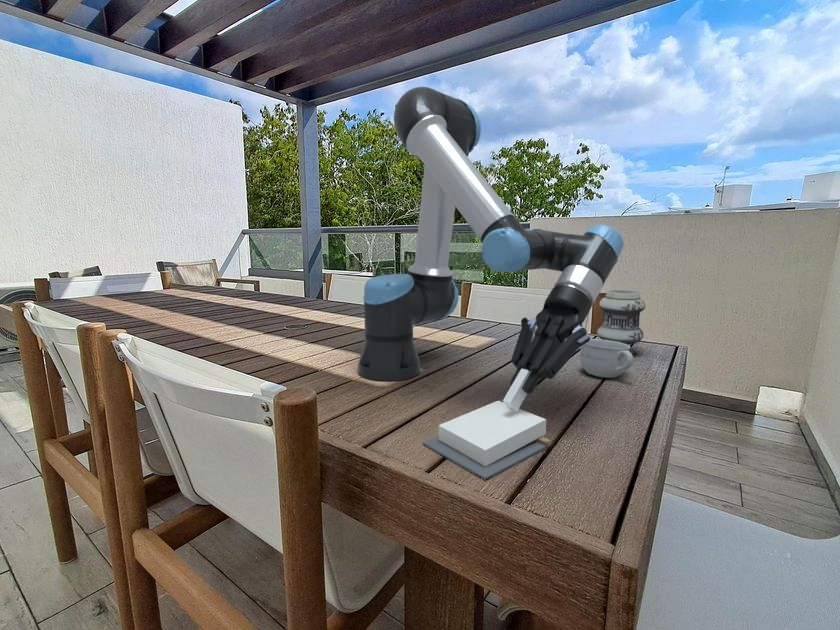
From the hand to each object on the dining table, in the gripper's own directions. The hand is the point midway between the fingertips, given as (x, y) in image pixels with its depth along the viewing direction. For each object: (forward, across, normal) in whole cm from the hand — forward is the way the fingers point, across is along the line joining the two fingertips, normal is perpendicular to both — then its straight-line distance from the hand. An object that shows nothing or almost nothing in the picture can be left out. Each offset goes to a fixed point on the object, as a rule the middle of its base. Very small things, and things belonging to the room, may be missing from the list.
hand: (509, 406), depth 68 cm
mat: (+8, 0, 0) cm, 8 cm away
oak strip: (+3, 0, -5) cm, 5 cm away
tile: (0, 0, -4) cm, 4 cm away
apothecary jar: (-43, +14, -51) cm, 68 cm away
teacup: (-26, +5, -34) cm, 43 cm away
